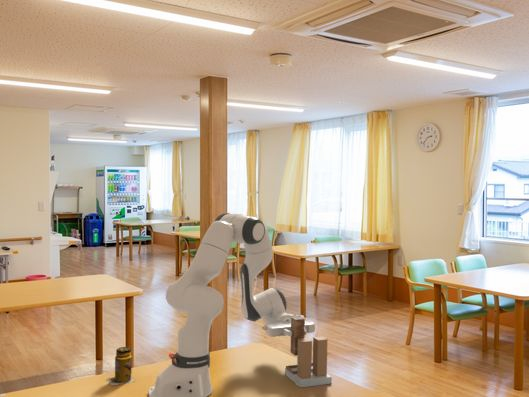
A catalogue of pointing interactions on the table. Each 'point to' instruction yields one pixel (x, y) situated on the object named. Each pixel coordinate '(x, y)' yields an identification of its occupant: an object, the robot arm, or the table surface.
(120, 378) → the condiment
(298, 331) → the stool leg
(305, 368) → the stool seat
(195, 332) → the robot arm
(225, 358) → the table surface
